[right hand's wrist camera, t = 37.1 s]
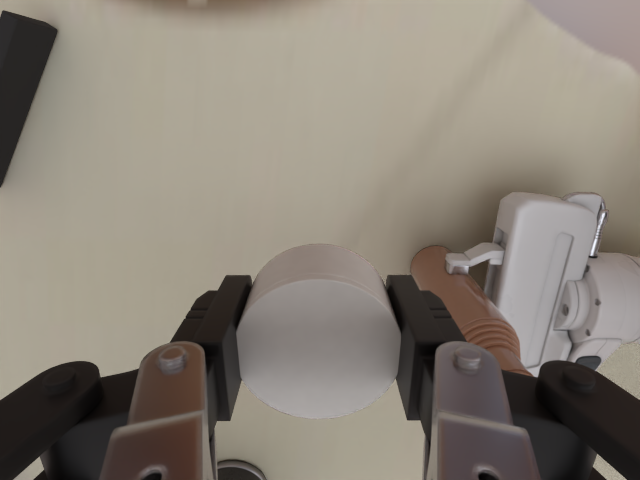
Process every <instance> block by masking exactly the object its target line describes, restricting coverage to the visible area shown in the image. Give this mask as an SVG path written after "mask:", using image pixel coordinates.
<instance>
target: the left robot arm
mask: <svg viewBox="0 0 640 480" xmlns="http://www.w3.org/2000/svg"><path fill="white" fill-rule="evenodd" d="M608 216H609V210H607V209H605V201H604V199H603V198H602V197H601V196H600V195H599V194H596V193H593V192H574V193H570V194H568V195H566V196H564V197H563V198H559V197H554V196H549V195H544V194H537V193H528V192H512V193H510V194H509V195H507V196H505V197H504V198H502V199H501V201H500V205H499V210H498V215H497V221H496V226H495V231H494V236H493V242H492V243H480V244H478V245H476V246H475V247H473V248H471V249H469V250H467V251H465V252H464V253H448V254H446V259H445V266H444V269H445V270H446V271H447V273H449V274H452V275H456V274H458V273H459V274H460V275H468V271H469V267H471V266H474V265H476V264H478V263H481V262H483V261H485V260H486V261H487V262H488V268H487V273H486V279H485V284H484V289H483V291H484V292H485V294H486V295H487V296H488V297H489V298H490V300H491V301H492V302H493V303H494V305H495V306H496V307H497V308H498V310H499V311H500V312H501V313H502V314H503V316H504V317H505V318H506V319H507V321H508V322H509V323H510V324H511V326H512V327H513V328H514V329H515V331H516V333H517V336H518V338H519V342H520V354H521V355H520V357H521V362H522V363H523V365H524V366H525V367H526V369H527V370H528V371H529V372H531V374H532V375H533V376H534V377H538V374H539V370H540V367H541V366H542V364H544V363H545V362H548V361H552V360H564V361H570V362H574V363H578V364H581V365H584V366H586V367H589V368H591V369H593V370H595V371H596V370H597V369H598V368H599V367H600V365H601V364H602V363H603V362H604V361H605V360H606V359H607V358H608V357H609V356H610V355H611V354H612V353H613V352H614V351H615V350H617V349H618V348H619V346H620V345H621V344H628V343H638V344H640V256H639V257H634V256H631V255H627V254H623V253H610V252H598V250H599V247H600V244H601V240H602V233H603V229H604V226H605V225H606V223H607V220H608Z"/></svg>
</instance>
